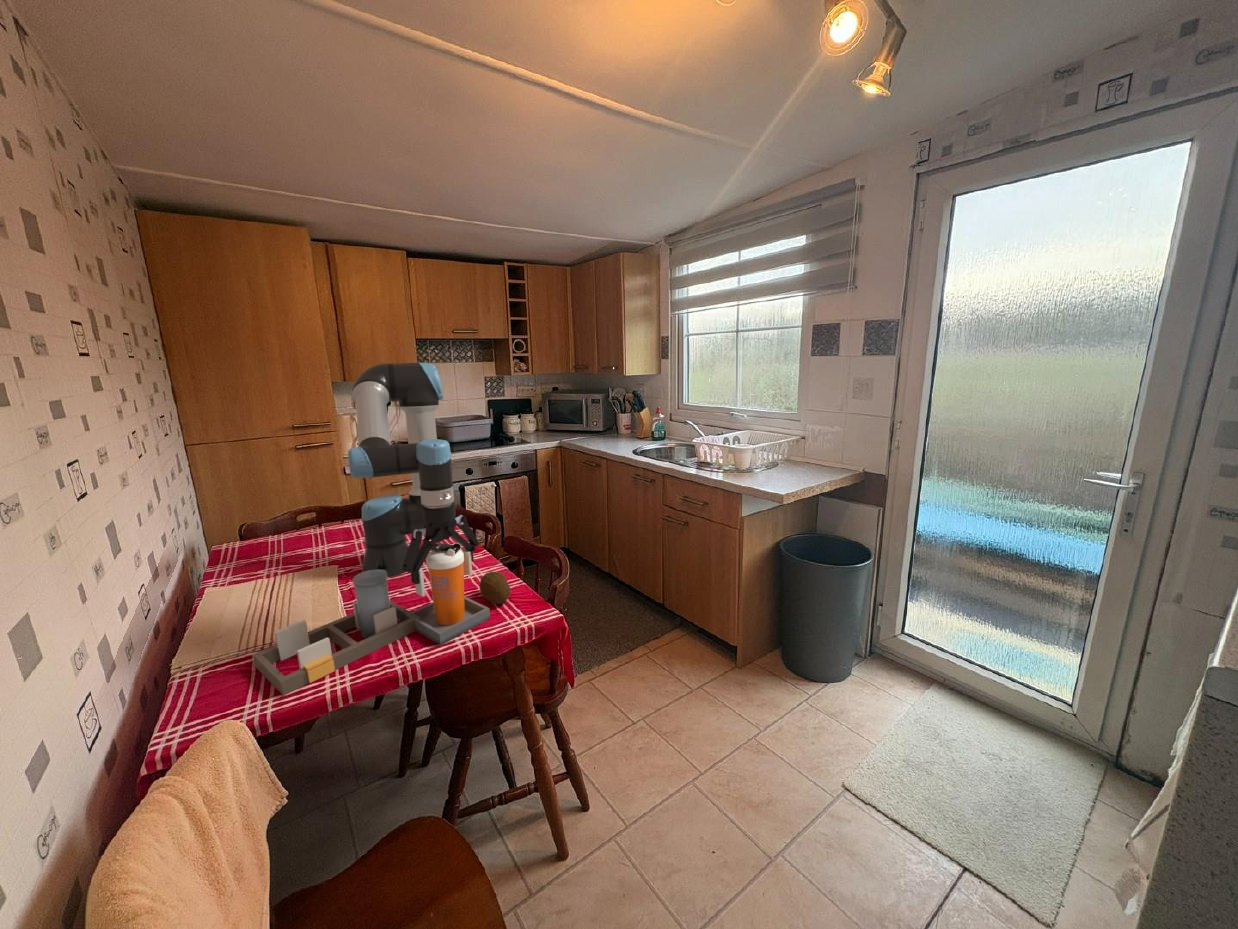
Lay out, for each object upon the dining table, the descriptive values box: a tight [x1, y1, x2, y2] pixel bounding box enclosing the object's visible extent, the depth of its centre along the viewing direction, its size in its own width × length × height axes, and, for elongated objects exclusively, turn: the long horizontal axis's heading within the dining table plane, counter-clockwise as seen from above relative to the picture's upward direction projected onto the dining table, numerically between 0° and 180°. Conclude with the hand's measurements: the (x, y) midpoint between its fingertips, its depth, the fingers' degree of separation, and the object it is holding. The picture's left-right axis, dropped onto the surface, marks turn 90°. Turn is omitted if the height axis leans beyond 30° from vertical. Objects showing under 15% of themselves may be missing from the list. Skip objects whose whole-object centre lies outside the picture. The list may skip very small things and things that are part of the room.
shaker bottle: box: [425, 542, 465, 625], centre depth 121 cm, size 9×9×20 cm
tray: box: [406, 596, 491, 646], centre depth 123 cm, size 15×15×3 cm
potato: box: [479, 571, 511, 605], centre depth 134 cm, size 8×12×8 cm, turn 42°
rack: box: [252, 599, 420, 696], centre depth 112 cm, size 16×30×7 cm, turn 144°
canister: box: [352, 569, 390, 639], centre depth 118 cm, size 7×7×15 cm
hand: (445, 584), depth 121 cm, fingers open, 13 cm apart
